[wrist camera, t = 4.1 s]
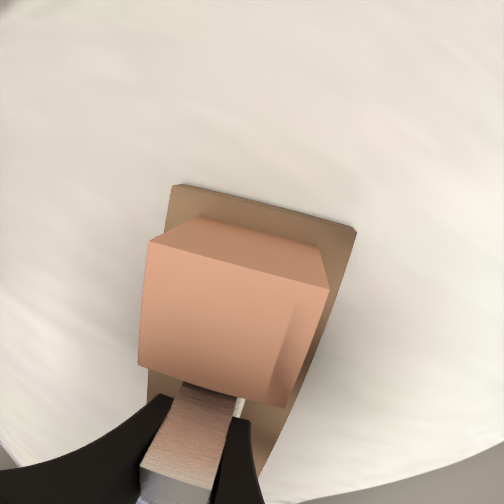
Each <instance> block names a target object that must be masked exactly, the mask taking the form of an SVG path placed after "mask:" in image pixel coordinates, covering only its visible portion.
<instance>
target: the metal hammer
mask: <svg viewBox="0 0 504 504" xmlns="http://www.w3.org/2000/svg"><path fill="white" fill-rule="evenodd" d="M245 400H246V399H243V398H239V397H235V396H231V395H228V394H224V393H221V392H217V391H214V390H210V389H207V388H204V387H201V386H197V385H194V384H191V383H188V382H185V381H184V382H183V384H182V386H181V388H180V390H179V391H178V393H177V395H176V397H175V399H174V401H173V403H172V406H171V408H170V410H169V412H168V414H167V415H166V417H165V418H164V420H163V422H162V424H161V426H160V428H159V430H158V432H157V433H156V435H155V437H154V439H153V441H152V443H151V445H150V447H149V449H148V451H147V453H146V454H145V456H144V458H143V460H142V462H141V464H140V466H139V468H140V487H141V500H143V501H146V502H148V503H151V504H207V501H208V500H210V496H211V490H212V486H213V482H214V479H215V476H216V472H217V469H218V465H219V462H220V458H221V455H222V451H223V448H224V444H225V441H226V435H227V431H228V428H229V424H230V422H231V419H232V416H234V417H238V418H240V416H241V413H242V410H243V406H244V403H245Z"/></svg>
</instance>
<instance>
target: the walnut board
mask: <svg viewBox="0 0 504 504" xmlns="http://www.w3.org/2000/svg"><path fill="white" fill-rule="evenodd" d="M196 216H202V217H206V218H210V219H214V220H218V221H222V222H226V223H230V224H234V225H238V226H242V227H245V228H249V229H253V230H257V231H261V232H265V233H269V234H272V235H276V236H280V237H284V238H288V239H292V240H295V241H299V242H303V243H307V244H310V245H314V246H318V247H319V250H320V254H321V258H322V261H323V265H324V269H325V272H326V276H327V280H328V284H329V288H330V291H329V294H328V297H327V300H326V303H325V306H324V308H323V311H322V314H321V317H320V320H319V322H318V325H317V328H316V331H315V333H314V336H313V339H312V341H311V344H310V347H309V349H308V352H307V354H306V357H305V360H304V362H303V365H302V367H301V370H300V372H299V375H298V377H297V380H296V382H295V384H294V387H293V389H292V392H291V394H290V396H289V399H288V401H287V404H286V406H285V408H280V407H275V406H271V405H267V404H262V403H258V402H254V401H250V400H245V403H244V406H243V410H242V413H241V416H240V418H242V419H246V420H249V421H250V422H251V443H252V452H253V459H254V464H255V469H256V474H257V478H258V477H259V475H260V473H261V471H262V469H263V467H264V465H265V463H266V461H267V459H268V457H269V455H270V453H271V451H272V449H273V447H274V445H275V443H276V441H277V439H278V437H279V435H280V432H281V430H282V428H283V426H284V424H285V422H286V420H287V417H288V415H289V413H290V411H291V409H292V406H293V404H294V402H295V400H296V397H297V395H298V393H299V391H300V388H301V386H302V384H303V381H304V379H305V376H306V374H307V372H308V369H309V367H310V364H311V362H312V359H313V357H314V354H315V352H316V349H317V347H318V344H319V342H320V339H321V337H322V334H323V331H324V329H325V326H326V323H327V321H328V318H329V315H330V313H331V310H332V307H333V304H334V301H335V299H336V296H337V293H338V290H339V287H340V284H341V281H342V278H343V275H344V272H345V269H346V266H347V263H348V260H349V257H350V254H351V251H352V247H353V244H354V241H355V238H356V234H357V232H356V231H355V230H354V229H353V228H352V227H349V226H346V225H342V224H339V223H335V222H332V221H328V220H324V219H321V218H317V217H313V216H310V215H306V214H302V213H299V212H295V211H291V210H287V209H283V208H280V207H276V206H272V205H268V204H264V203H260V202H256V201H252V200H248V199H244V198H240V197H236V196H231V195H227V194H223V193H219V192H214V191H210V190H206V189H201V188H197V187H192V186H188V185H183V184H179V185H173V186H172V189H171V195H170V200H169V206H168V212H167V217H166V223H165V230H164V233H165V232H167V231H169V230H171V229H173V228H175V227H176V226H178V225H180V224H182V223H184V222H186V221H188V220H190V219H192V218H194V217H196ZM183 382H184V381H182V380H179V379H176V378H173V377H170V376H167V375H164V374H162V373H159V372H156V371H153V370H151V369H149V372H148V389H147V403H148V402H149V401H151V400H152V399H153V398H154V397H155V396H156V395H157V394H159V393H161V394H164V395H166V396H169V397H172V398H175V397H176V395H177V393H178V391H179V390H180V388H181V386H182V384H183Z"/></svg>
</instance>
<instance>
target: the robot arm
mask: <svg viewBox="0 0 504 504" xmlns="http://www.w3.org/2000/svg"><path fill="white" fill-rule="evenodd" d="M174 399H175V398H172V397H169V396H166V395H164V394H161V393H159V394H157V395H156V396H155V397H154V398H153V399H152V400H151V401H149V402H148V403H147V404H146V405H145V406H144V407H143V408H141V409H140V410H139V411H138V412H137V413H135V414H134V415H133V416H131V417H130V418H129V419H127V420H126V421H125V422H123V423H122V424H121V425H119V426H118V427H116V428H115V429H113V430H112V431H110V432H109V433H107V434H105V435H104V436H102V437H101V438H99V439H97V440H95V441H94V442H92V443H90V444H88V445H86V446H84V447H82V448H80V449H78V450H76V451H73V452H71V453H68V454H66V455H63V456H61V457H58V458H55V459H52V460H49V461H46V462H42V463H38V464H34V465H31V466H26V467H21V468H15V469H7V470H0V504H149V503H148V502H146V501H143V500H141V496H140V495H141V487H140V468H139V466H140V464H141V462H142V460H143V458H144V456H145V454H146V453H147V451H148V449H149V447H150V445H151V443H152V441H153V439H154V437H155V435H156V433H157V432H158V430H159V428H160V426H161V424H162V422H163V420H164V418H165V417H166V415H167V414H168V412H169V410H170V408H171V406H172V403H173V401H174ZM209 504H265V503H264V500H263V497H262V493H261V490H260V486H259V483H258V478H257V474H256V469H255V464H254V459H253V452H252V443H251V422H250V421H249V420H246V419H242V418H238V417H234V416H232V419H231V422H230V424H229V428H228V431H227V435H226V441H225V444H224V448H223V451H222V455H221V458H220V462H219V465H218V469H217V472H216V476H215V479H214V482H213V486H212V490H211V496H210V501H209Z"/></svg>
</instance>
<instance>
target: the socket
mask: <svg viewBox="0 0 504 504" xmlns="http://www.w3.org/2000/svg"><path fill="white" fill-rule="evenodd" d="M329 291H330V288H329V284H328V280H327V276H326V272H325V269H324V265H323V261H322V258H321V254H320V250H319V247H318V246H314V245H310V244H307V243H303V242H299V241H295V240H292V239H288V238H284V237H280V236H276V235H272V234H269V233H265V232H261V231H257V230H253V229H249V228H245V227H242V226H238V225H234V224H230V223H226V222H222V221H218V220H214V219H210V218H206V217H202V216H196V217H194V218H192V219H190V220H188V221H186V222H184V223H182V224H180V225H178V226H176V227H175V228H173V229H171V230H169V231H167V232H165V233H163V234H161V235H159V236H157V237H155V238H154V239H152V240H150V241H149V244H148V252H147V259H146V268H145V276H144V286H143V296H142V307H141V319H140V333H139V349H138V365H140V366H143V367H145V368H148V369H151V370H153V371H156V372H159V373H162V374H164V375H167V376H170V377H173V378H176V379H179V380H182V381H185V382H188V383H191V384H194V385H197V386H201V387H204V388H207V389H210V390H214V391H217V392H221V393H224V394H228V395H231V396H235V397H239V398H243V399H246V400H250V401H254V402H258V403H262V404H267V405H271V406H275V407H280V408H285V406H286V404H287V401H288V399H289V396H290V394H291V392H292V389H293V387H294V384H295V382H296V380H297V377H298V375H299V372H300V370H301V367H302V365H303V362H304V360H305V357H306V354H307V352H308V349H309V347H310V344H311V341H312V339H313V336H314V333H315V331H316V328H317V325H318V322H319V320H320V317H321V314H322V311H323V308H324V306H325V303H326V300H327V297H328V294H329Z"/></svg>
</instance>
